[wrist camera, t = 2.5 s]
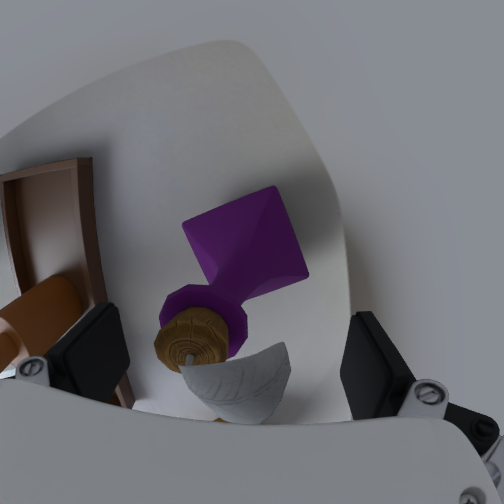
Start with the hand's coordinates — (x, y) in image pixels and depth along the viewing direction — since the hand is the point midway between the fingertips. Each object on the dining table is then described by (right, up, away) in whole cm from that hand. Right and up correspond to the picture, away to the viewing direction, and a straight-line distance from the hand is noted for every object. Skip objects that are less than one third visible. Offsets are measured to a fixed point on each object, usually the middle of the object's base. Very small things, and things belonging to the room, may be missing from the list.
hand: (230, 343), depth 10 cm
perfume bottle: (+1, +5, +14) cm, 15 cm away
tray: (-20, -2, +17) cm, 26 cm away
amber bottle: (-21, -2, +16) cm, 26 cm away
